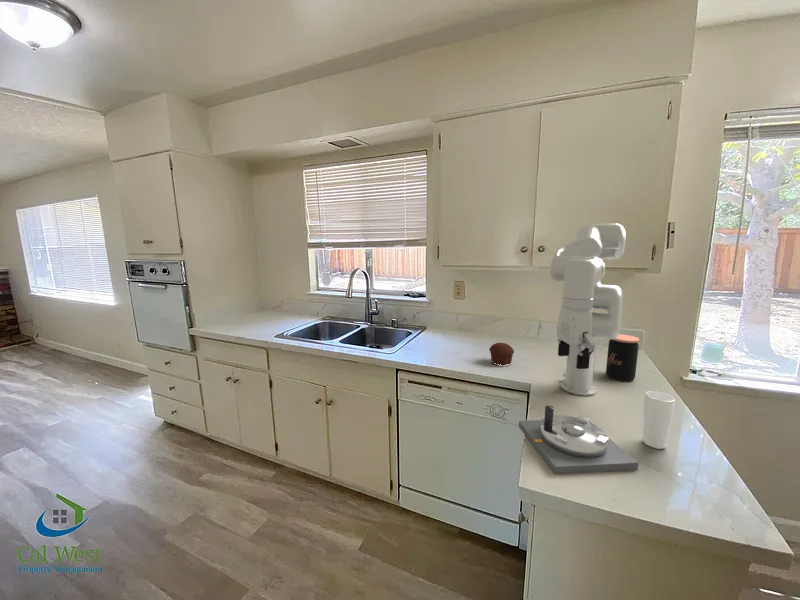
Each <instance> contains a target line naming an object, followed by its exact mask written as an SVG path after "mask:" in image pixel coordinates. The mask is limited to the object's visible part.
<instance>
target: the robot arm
mask: <svg viewBox="0 0 800 600" xmlns="http://www.w3.org/2000/svg"><path fill="white" fill-rule="evenodd" d="M626 232H627V231H626V230H625V228H624V226H623V225H621V224H619V223H591V224H586V225H584V226H582V227H579V229H578V230H577V232H576V234H575V237H574V239H573V240H572V241H571V242H569V243H567V244H565V245H563V246H560V247H559V248H557V249H556V250H555V252H554V254H553V256H552V258H551V261H550V265H549V275H550V277H551V278H552V279H553V280H554V281H556V282H562V297H561V298H562V299H561V307H560V309H559V310H560V311H559V314H558V315H559V316H558V320H557V325H556V337H557V338H558V339H557V343H558V347H557V349H558V350H557V355H558V356H559V357H566V368H565V372H564V373H563V374H562V377H564V380H563V381H561V382H560V388H561V389H562V390H564V391H565V392H567V393H570V394H573V395H576V396H577V395H578V396H584V397H586V396H587V397H588V396H594V395H595V394H597V388H596V387H595V385H593V382H594V381H593V379H594V370H595V360H596V359H595V358H596V342H595V341H594V339H593V338H597V339H604V340H610V339H616V338H617V337H618V336H619V334H621V333H620V332H621V327H622V326H621V325H622V313H623V301H624V300H623V299H624V297H623V295H624V294H623V289H622V288H620V286H618V285H616V284H615V285H614V284H602V283H601V281H602V278H604V276H605V272H606V263H604V261H617V260H619V259H621V258H622V256H623V255H624V254H625V253H624V252H625V246H626V240H627V234H626ZM593 310H603V311H606V312H607V313H605V312H602V313H601V312H592V311H593Z"/></svg>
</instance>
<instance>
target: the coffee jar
mask: <svg viewBox="0 0 800 600" xmlns="http://www.w3.org/2000/svg"><path fill="white" fill-rule="evenodd" d="M639 342H640V338H639V337H637V336H633V335H629V334H622V333H619V336H618V337H617V338H616V339H608V347H607V349H608V350H607V357H606V358H607V359H606V367H605V374H606V375H608V376H609V377H610V379H611V378H613V379H612V380H614V379H615V381H618V380H620V381H619V382H624V381H629V382H633V381H634V379H636V373H637V365H638V364H637V363H638V356H639V347H640V346H639ZM608 376H607V377H608ZM609 377H608V378H609Z"/></svg>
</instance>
